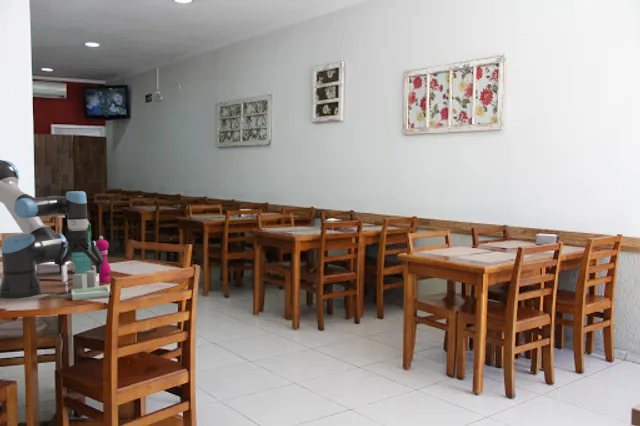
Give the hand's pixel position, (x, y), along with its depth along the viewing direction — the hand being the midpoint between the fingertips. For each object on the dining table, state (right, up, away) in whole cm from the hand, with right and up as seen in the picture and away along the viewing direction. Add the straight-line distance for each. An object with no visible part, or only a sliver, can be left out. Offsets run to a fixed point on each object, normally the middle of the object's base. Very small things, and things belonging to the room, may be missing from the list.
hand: (80, 281), depth 242 cm
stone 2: (+2, -4, +7) cm, 8 cm away
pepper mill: (+1, -2, +21) cm, 21 cm away
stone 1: (0, -4, +1) cm, 4 cm away
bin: (+7, -5, -8) cm, 12 cm away
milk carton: (-17, 0, +44) cm, 48 cm away
